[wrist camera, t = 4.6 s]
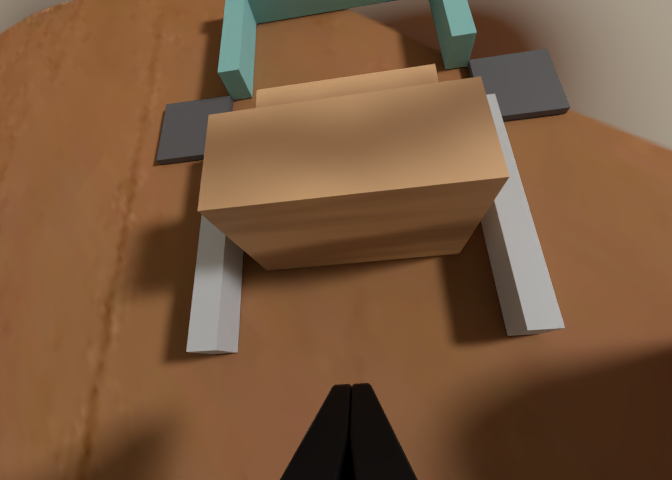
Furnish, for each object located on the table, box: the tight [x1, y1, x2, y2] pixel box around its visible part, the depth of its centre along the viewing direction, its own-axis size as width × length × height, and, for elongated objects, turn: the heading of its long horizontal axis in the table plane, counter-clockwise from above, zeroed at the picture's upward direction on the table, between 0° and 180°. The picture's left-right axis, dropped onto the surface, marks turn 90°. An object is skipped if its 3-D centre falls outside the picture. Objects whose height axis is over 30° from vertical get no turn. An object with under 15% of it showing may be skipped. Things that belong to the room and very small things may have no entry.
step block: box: [197, 64, 510, 271], centre depth 17 cm, size 11×11×8 cm
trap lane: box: [156, 0, 570, 354], centre depth 21 cm, size 28×27×3 cm
